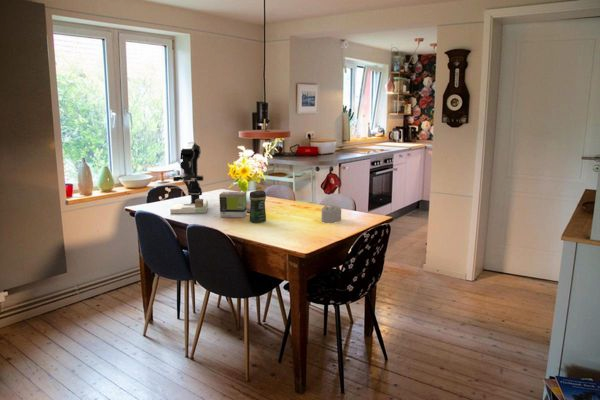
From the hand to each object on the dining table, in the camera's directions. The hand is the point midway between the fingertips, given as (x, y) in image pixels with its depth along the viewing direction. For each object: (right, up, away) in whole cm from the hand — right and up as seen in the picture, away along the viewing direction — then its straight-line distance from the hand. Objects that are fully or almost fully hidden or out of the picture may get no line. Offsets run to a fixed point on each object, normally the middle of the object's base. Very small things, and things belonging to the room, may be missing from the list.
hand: (189, 191), depth 308 cm
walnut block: (+7, -10, -1) cm, 12 cm away
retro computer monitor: (+31, -16, -13) cm, 37 cm away
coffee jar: (+48, -19, -28) cm, 58 cm away
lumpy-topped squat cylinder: (+91, -18, -25) cm, 96 cm away
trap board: (0, -13, 0) cm, 13 cm away
